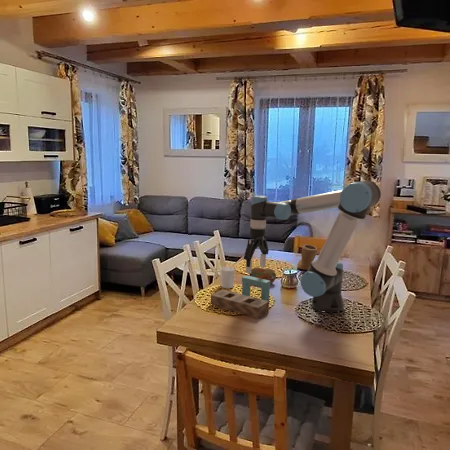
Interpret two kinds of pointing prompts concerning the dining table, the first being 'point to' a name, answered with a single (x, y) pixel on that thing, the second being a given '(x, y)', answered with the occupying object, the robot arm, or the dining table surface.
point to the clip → (259, 282)
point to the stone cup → (307, 256)
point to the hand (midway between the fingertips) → (255, 269)
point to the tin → (264, 274)
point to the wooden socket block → (240, 303)
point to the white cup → (227, 277)
